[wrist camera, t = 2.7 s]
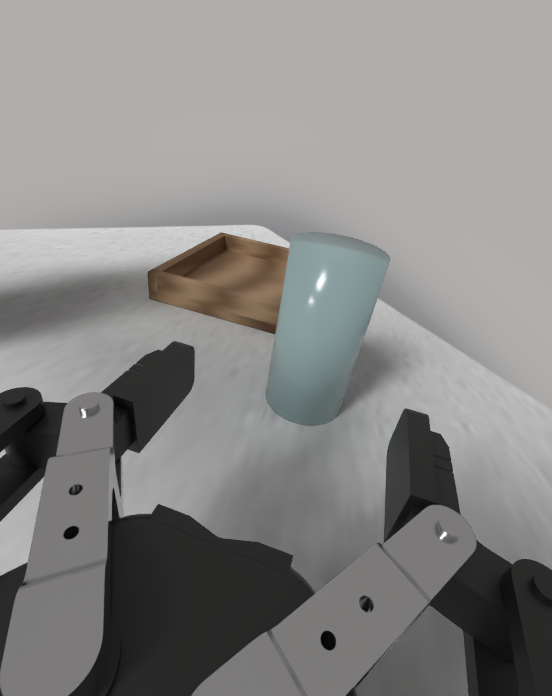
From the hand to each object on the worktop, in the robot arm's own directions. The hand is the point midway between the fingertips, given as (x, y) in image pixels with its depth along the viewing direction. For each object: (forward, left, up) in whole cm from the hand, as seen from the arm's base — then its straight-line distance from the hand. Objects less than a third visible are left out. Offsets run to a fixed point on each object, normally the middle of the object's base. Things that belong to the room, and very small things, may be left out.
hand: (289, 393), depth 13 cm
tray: (-11, +28, -9) cm, 32 cm away
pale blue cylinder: (0, +11, -10) cm, 15 cm away
